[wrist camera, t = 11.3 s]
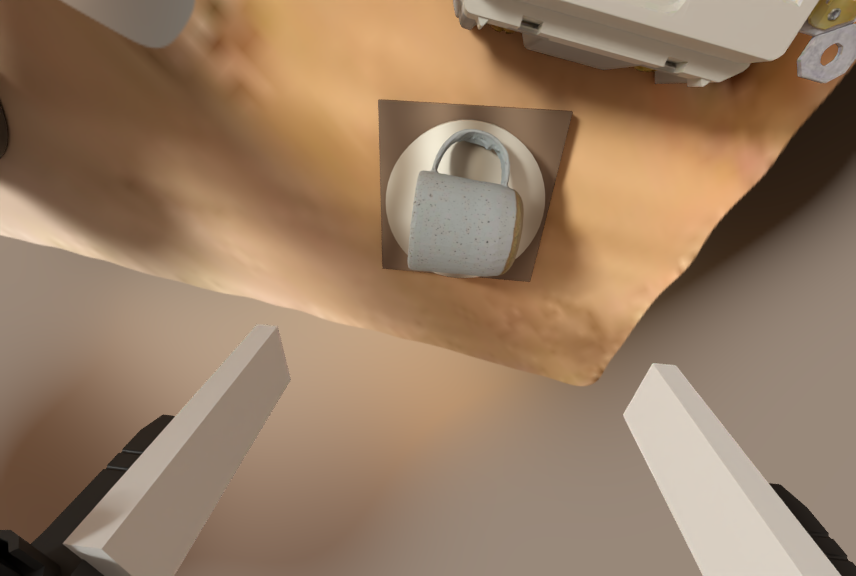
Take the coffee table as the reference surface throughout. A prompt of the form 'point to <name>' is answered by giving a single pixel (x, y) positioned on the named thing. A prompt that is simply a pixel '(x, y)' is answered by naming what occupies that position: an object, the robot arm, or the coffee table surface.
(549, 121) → the pedestal
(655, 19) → the electrical outlet
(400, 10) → the coffee table surface
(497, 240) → the ceramic mug
